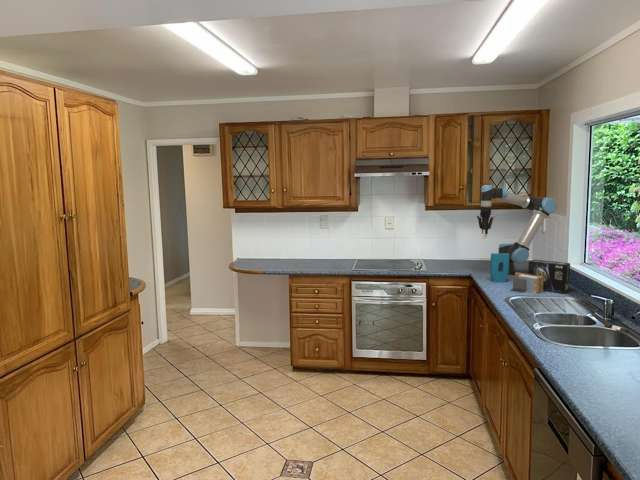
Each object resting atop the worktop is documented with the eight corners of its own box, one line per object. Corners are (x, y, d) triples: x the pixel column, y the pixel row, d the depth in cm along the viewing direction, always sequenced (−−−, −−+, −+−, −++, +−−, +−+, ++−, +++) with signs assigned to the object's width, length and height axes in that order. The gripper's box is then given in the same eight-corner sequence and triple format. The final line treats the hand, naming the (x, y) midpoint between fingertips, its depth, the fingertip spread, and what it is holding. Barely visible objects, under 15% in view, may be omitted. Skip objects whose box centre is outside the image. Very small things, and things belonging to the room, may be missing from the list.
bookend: (513, 289, 306) (514, 277, 305) (525, 291, 300) (525, 279, 299) (510, 290, 303) (510, 278, 302) (521, 292, 297) (522, 280, 296)
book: (521, 288, 309) (522, 274, 308) (539, 292, 300) (540, 276, 298) (517, 290, 306) (518, 275, 304) (535, 293, 296) (536, 278, 295)
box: (526, 288, 310) (528, 260, 307) (532, 286, 317) (533, 258, 314) (564, 294, 294) (566, 265, 292) (569, 291, 301) (571, 263, 299)
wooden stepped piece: (515, 286, 315) (516, 272, 313) (543, 291, 301) (543, 276, 299) (507, 289, 308) (508, 274, 307) (535, 294, 294) (536, 278, 293)
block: (491, 282, 328) (493, 254, 326) (489, 280, 333) (490, 253, 331) (508, 282, 328) (510, 254, 326) (505, 280, 333) (507, 253, 331)
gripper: (475, 206, 340) (473, 238, 343) (491, 207, 330) (490, 239, 334) (480, 205, 345) (479, 237, 348) (496, 206, 335) (495, 238, 338)
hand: (484, 238), depth 341 cm, fingers closed
